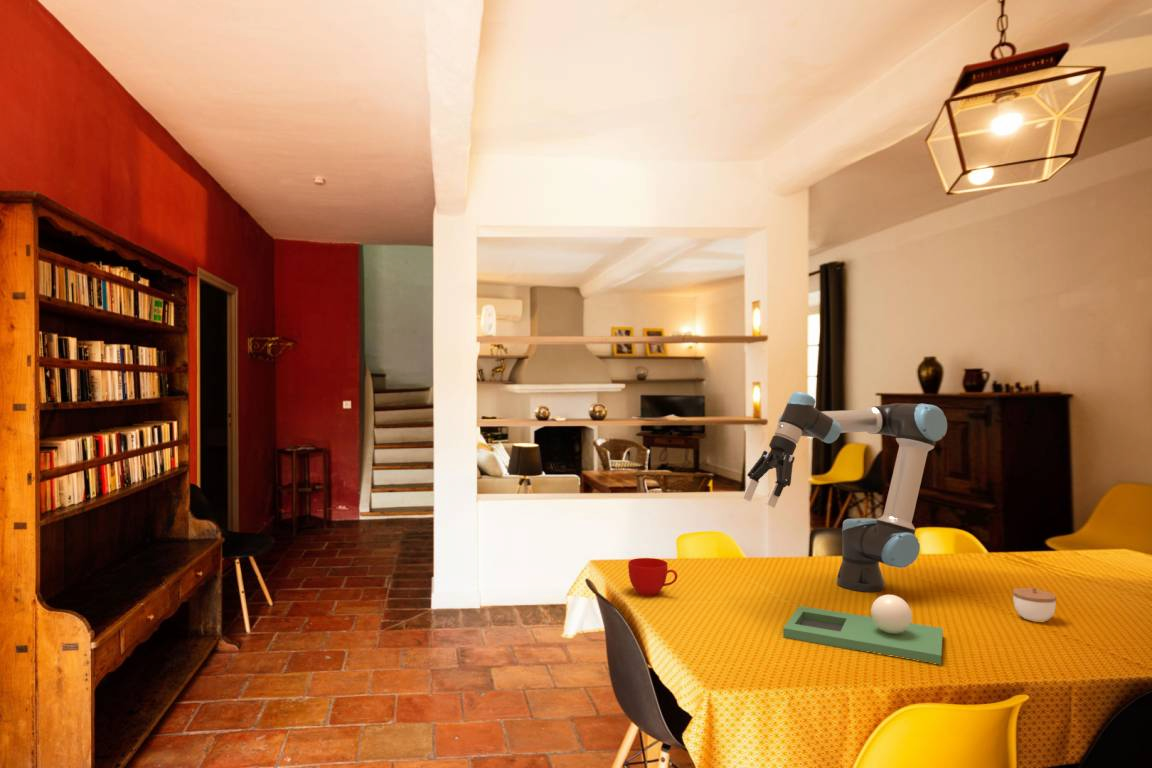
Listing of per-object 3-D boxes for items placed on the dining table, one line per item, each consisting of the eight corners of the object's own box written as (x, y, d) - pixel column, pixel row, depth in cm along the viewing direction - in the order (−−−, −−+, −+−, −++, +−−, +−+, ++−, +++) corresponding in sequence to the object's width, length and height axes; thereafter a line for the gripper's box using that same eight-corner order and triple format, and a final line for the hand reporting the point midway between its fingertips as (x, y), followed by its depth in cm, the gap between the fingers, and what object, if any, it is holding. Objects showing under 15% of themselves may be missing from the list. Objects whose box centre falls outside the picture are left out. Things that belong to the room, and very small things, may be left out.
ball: (886, 623, 190) (886, 587, 190) (920, 635, 181) (920, 597, 182) (862, 630, 185) (863, 593, 185) (896, 642, 176) (896, 603, 176)
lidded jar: (1004, 613, 207) (1004, 582, 207) (1037, 613, 208) (1037, 582, 208) (1030, 626, 196) (1030, 593, 196) (1065, 625, 197) (1065, 592, 197)
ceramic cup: (668, 603, 215) (668, 571, 215) (621, 594, 224) (621, 564, 224) (684, 593, 226) (685, 562, 226) (639, 585, 235) (639, 556, 235)
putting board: (942, 637, 187) (942, 628, 187) (941, 665, 168) (941, 655, 168) (799, 614, 205) (799, 605, 205) (783, 637, 186) (783, 628, 186)
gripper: (754, 432, 221) (727, 492, 218) (799, 435, 197) (770, 502, 194) (772, 442, 223) (746, 502, 220) (819, 447, 199) (791, 514, 196)
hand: (757, 502), depth 207 cm, fingers open, 13 cm apart
